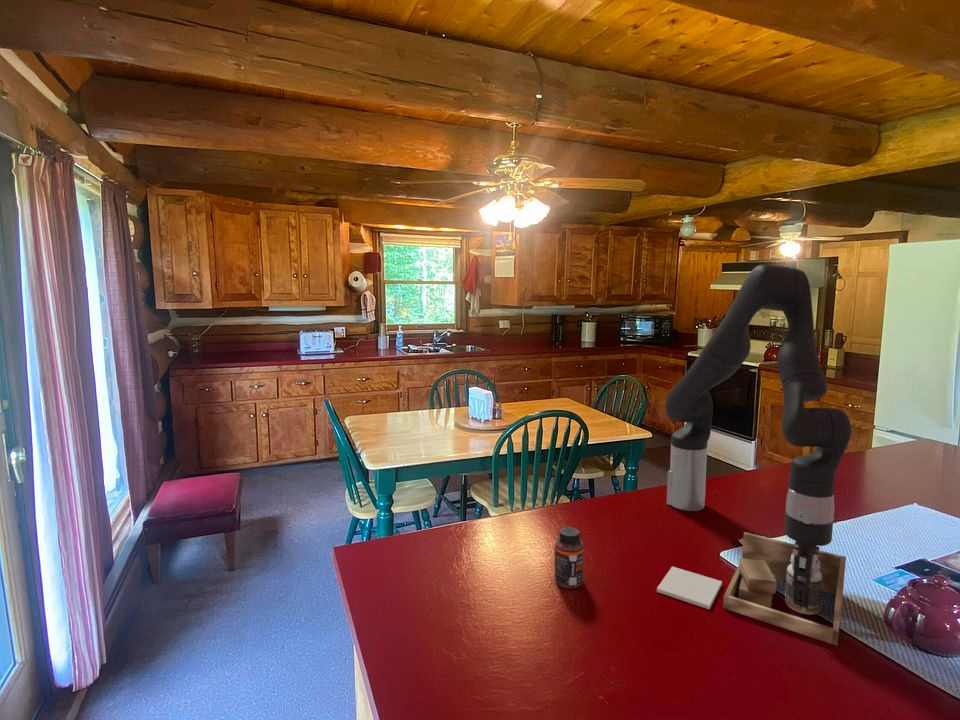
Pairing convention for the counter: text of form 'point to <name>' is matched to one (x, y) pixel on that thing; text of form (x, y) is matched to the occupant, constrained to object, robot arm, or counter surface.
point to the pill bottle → (814, 591)
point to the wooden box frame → (778, 562)
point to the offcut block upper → (757, 575)
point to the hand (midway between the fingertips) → (803, 594)
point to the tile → (690, 587)
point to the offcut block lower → (755, 595)
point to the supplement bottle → (569, 559)
